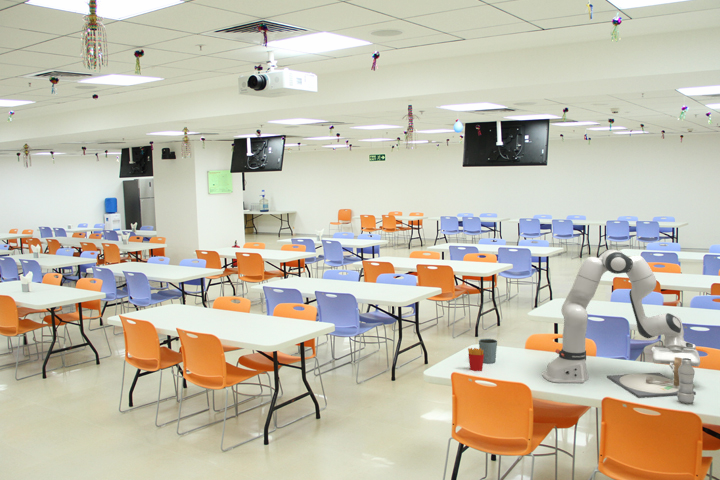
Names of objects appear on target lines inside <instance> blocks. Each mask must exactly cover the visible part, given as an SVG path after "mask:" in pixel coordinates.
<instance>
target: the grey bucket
mask: <svg viewBox="0 0 720 480" xmlns="http://www.w3.org/2000/svg"><path fill="white" fill-rule="evenodd" d="M497 346H498V340H496V339H494V338H481V339H479V340H478V349H479V348H480V349H481V351H482V350H483V354H484V358H483V364H487V365H488V364H489V365H491V364H496V361H497V359H496V358H497Z"/></svg>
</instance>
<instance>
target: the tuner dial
mask: <svg viewBox="0 0 720 480" xmlns="http://www.w3.org/2000/svg"><path fill="white" fill-rule="evenodd" d="M646 377H652V378H653V380H655V381H661V382H666V383H672V384H674V379H672V378H670V377H669V376H666V375H665V374H663V373H661V372H645V373H626V374H611V375H606V378H607V379H608V380H610V381H612V382H613V383H614V384H616V385H618V386H619V387H621V388H623V389H624V390H625V391H627V393H630V394H631V395H633V396H635V397H636V398H638V399H643V398H644V399H645V397H647V398H662V397H677V394H678V390H679V386H677V387H676V386H670V385H664V384H659V383H647V382H646ZM693 393H694V396H695V395H696V394H697V393H696V391H695V390H693Z"/></svg>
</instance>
